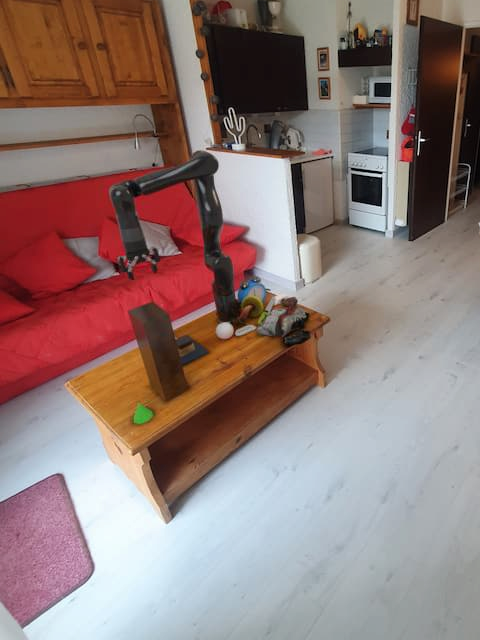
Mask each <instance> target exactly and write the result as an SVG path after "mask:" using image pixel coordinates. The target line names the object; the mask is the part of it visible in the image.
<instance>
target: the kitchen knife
mask: <svg viewBox="0 0 480 640" xmlns="http://www.w3.org/2000/svg"><path fill="white" fill-rule="evenodd" d="M274 301H275V295H273V296H272V298H270V301H269V302H268V304H267V306H266V307H265V308H264V309H263V312H262V314H261V315H260V316H259V318H258V320H257V323H256V324H257V325H258V326H260V325H261V324H262V323H263V322H264V319H265V318H266V316H268V314H270V312H271V310H272V309H273V304H274Z"/></svg>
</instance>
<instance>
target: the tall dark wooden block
mask: <svg viewBox="0 0 480 640" xmlns="http://www.w3.org/2000/svg"><path fill="white" fill-rule="evenodd" d="M127 314H128V318H129V319H130V324H131V327H132V330H133V334H134V336H135V340H136V343H137V346H138V350H139V353H140V355H141V359H142V362H143V366H144V369H145V372H146V375H147V378H148V382H149V385H150V387H151V388H152V389H153V391H155V393H157V394H158V395H159V396H160V397H161V399H162V400H163V401H164V402H165V403H167V402H168V401H170V400H172V399H174V398H176V397H178V396H180V395H182V394H184V393H185V392H187V391H188V390H189V386H188V384H187V379H186V376H185V372H184V368H183V367H184V366H182V363H181V359H180V355H179V351H178V347H177V343H176V339H175V337H176V335H175V332H174V328H173V325H172V321H171V320H172V319H171V317H170V313H169V312H168V311H166V310H164V309H163V308H162V307H161V306H159V305H158V304H157V303H155V301H150V302H147V303H145V304H141V305H139V306H136V307H134V308H131V309H128V310H127Z"/></svg>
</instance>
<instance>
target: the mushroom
mask: <svg viewBox="0 0 480 640" xmlns="http://www.w3.org/2000/svg"><path fill="white" fill-rule="evenodd" d="M264 310H265V308H264V302H263V303H262V301H261V300H260V299H259V298H258V297H256V296H254V295H250V296H247V297H245V298H244V300H243V302H242V304H241V312H240V317H239V318H238V319H234V318H231V320H230V324H231V325H232V326H233V325H234V323H235V324H236V325H238V324H239V323H241V324H245V325H246V324H247V325H249V323H248V322H246V319H247V318H258V317H260V316H261V315H262V313H263V311H264Z"/></svg>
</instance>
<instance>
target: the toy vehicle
mask: <svg viewBox="0 0 480 640" xmlns="http://www.w3.org/2000/svg"><path fill="white" fill-rule="evenodd" d="M274 297H275V301H274V304H273V306H277V305H279V304H281V303H282V301H283V300H285V299H287V298H292V294H289V293H285V292H284V293H280V294H277V295H274ZM273 306H272V307H273Z"/></svg>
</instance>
